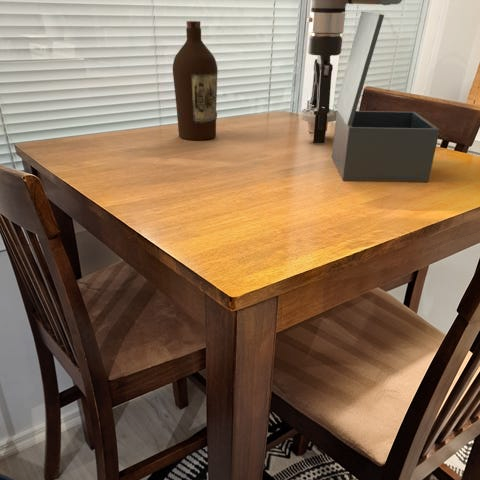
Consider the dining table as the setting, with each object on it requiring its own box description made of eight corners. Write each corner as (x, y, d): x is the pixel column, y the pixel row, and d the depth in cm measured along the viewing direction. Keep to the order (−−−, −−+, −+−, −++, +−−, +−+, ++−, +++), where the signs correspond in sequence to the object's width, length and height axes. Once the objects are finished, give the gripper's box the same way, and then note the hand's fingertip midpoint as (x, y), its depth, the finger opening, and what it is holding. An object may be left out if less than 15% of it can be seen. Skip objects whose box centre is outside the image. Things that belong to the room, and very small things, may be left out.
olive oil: (168, 134, 126) (161, 20, 113) (202, 129, 132) (199, 19, 118) (191, 143, 119) (186, 22, 106) (226, 137, 125) (226, 21, 111)
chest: (406, 158, 110) (415, 111, 105) (428, 182, 96) (440, 129, 91) (331, 157, 110) (336, 110, 105) (342, 180, 96) (349, 127, 91)
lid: (365, 12, 95) (361, 11, 95) (384, 15, 81) (379, 14, 81) (338, 108, 105) (335, 107, 105) (351, 125, 91) (347, 124, 91)
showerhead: (329, 114, 114) (292, 109, 119) (326, 146, 118) (290, 140, 123) (347, 107, 121) (311, 102, 126) (343, 138, 125) (308, 132, 130)
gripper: (305, 31, 121) (298, 127, 133) (314, 38, 103) (305, 149, 115) (335, 32, 121) (326, 128, 133) (350, 38, 102) (337, 149, 115)
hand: (316, 137), depth 124 cm, fingers closed on showerhead, 9 cm apart
